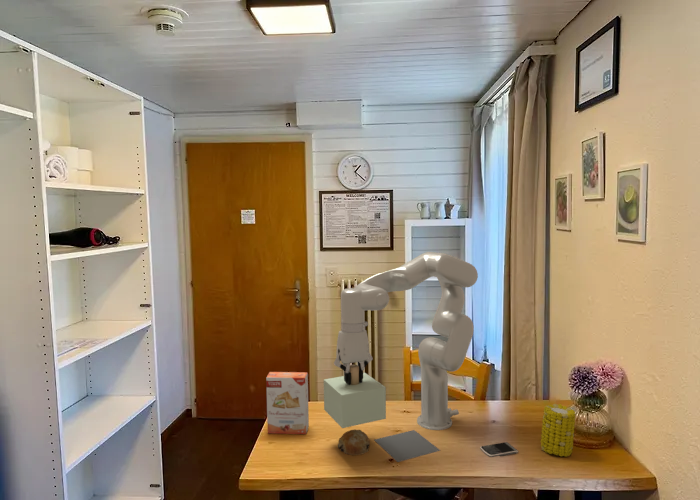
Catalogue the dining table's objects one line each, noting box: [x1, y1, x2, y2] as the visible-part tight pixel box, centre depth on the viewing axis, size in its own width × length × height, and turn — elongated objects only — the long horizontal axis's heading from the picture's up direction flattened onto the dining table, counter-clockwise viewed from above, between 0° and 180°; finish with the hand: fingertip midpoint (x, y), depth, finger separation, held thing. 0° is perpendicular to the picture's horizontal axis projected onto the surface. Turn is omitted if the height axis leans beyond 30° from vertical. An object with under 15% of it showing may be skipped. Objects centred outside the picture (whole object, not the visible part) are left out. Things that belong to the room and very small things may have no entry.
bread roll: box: [337, 429, 370, 456], centre depth 156 cm, size 10×10×8 cm
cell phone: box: [479, 441, 519, 458], centre depth 153 cm, size 6×11×1 cm, turn 106°
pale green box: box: [323, 364, 387, 429], centre depth 154 cm, size 15×15×16 cm
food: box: [540, 403, 576, 458], centre depth 152 cm, size 15×12×10 cm
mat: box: [374, 429, 441, 463], centre depth 157 cm, size 16×16×1 cm
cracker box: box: [265, 371, 310, 435], centre depth 169 cm, size 14×6×21 cm, turn 86°
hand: (353, 381), depth 154 cm, fingers closed on pale green box, 3 cm apart
